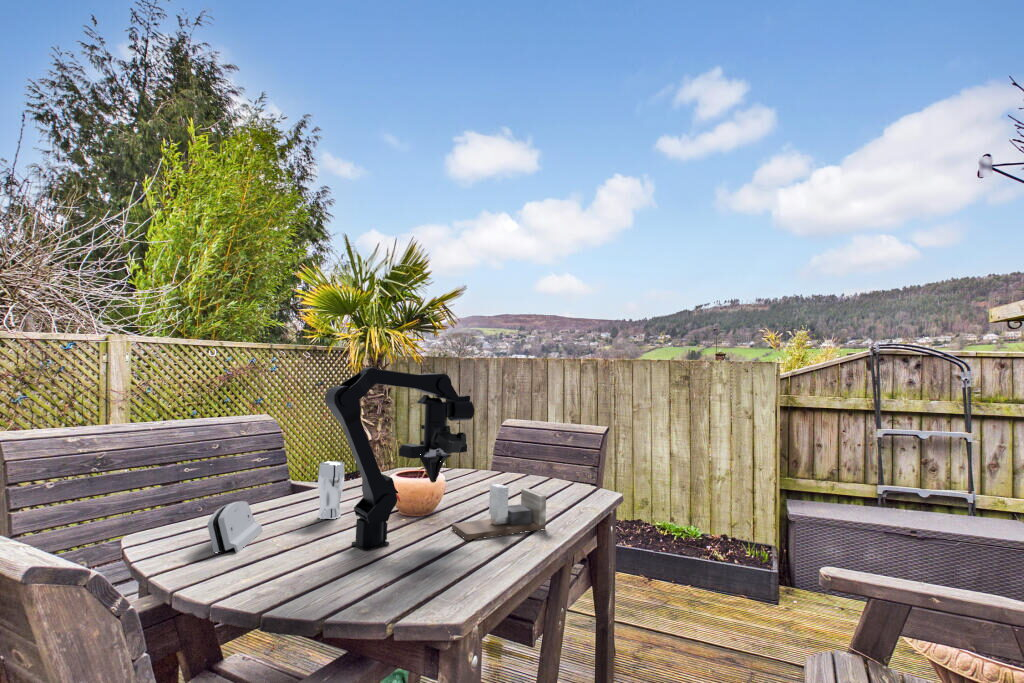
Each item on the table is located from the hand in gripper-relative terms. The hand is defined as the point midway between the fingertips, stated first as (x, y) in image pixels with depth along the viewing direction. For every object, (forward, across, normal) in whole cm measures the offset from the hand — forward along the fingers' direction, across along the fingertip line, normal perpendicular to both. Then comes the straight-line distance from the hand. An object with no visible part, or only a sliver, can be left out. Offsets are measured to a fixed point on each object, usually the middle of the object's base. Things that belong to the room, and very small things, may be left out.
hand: (433, 482), depth 131 cm
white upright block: (+13, -11, +31) cm, 35 cm away
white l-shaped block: (+11, +18, -11) cm, 24 cm away
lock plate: (+13, +15, -10) cm, 22 cm away
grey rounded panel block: (+13, -38, +27) cm, 48 cm away
